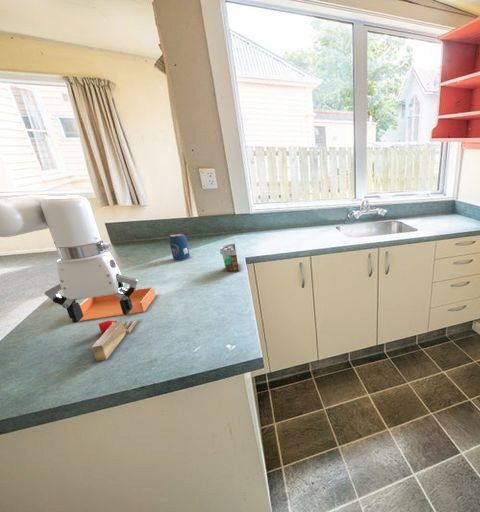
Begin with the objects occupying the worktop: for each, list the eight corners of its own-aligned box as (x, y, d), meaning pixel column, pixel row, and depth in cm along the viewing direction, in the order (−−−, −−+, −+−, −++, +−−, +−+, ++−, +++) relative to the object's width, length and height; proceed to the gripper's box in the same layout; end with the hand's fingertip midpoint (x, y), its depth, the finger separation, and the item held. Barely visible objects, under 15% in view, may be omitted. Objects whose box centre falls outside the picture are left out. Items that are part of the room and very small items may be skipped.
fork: (92, 362, 70) (86, 348, 69) (122, 324, 86) (118, 312, 85) (111, 358, 72) (106, 344, 70) (137, 322, 88) (134, 310, 86)
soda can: (169, 260, 141) (164, 235, 138) (183, 256, 148) (178, 232, 144) (180, 261, 139) (175, 237, 136) (193, 257, 146) (189, 233, 142)
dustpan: (144, 312, 94) (141, 302, 93) (74, 322, 87) (70, 312, 86) (163, 285, 113) (161, 277, 112) (107, 292, 107) (105, 283, 106)
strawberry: (101, 334, 82) (118, 328, 85) (103, 336, 80) (120, 330, 83) (97, 322, 82) (114, 317, 84) (99, 324, 79) (116, 319, 82)
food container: (223, 265, 135) (219, 244, 131) (237, 263, 137) (234, 243, 134) (223, 274, 124) (219, 252, 121) (239, 272, 127) (235, 250, 124)
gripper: (133, 242, 75) (150, 303, 80) (42, 250, 69) (67, 315, 74) (121, 250, 68) (140, 316, 73) (19, 260, 62) (48, 331, 67)
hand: (103, 316), depth 74 cm, fingers open, 9 cm apart
